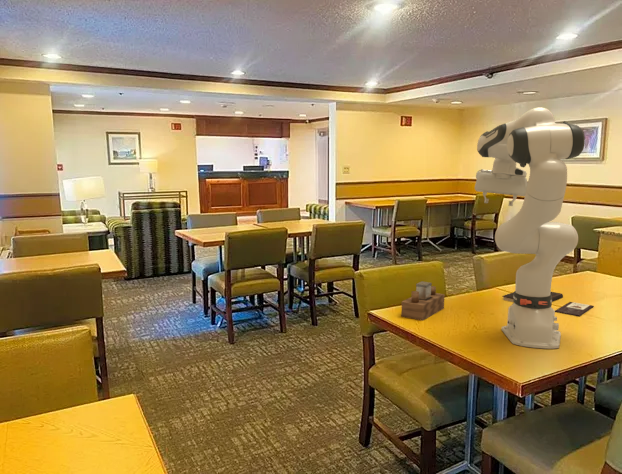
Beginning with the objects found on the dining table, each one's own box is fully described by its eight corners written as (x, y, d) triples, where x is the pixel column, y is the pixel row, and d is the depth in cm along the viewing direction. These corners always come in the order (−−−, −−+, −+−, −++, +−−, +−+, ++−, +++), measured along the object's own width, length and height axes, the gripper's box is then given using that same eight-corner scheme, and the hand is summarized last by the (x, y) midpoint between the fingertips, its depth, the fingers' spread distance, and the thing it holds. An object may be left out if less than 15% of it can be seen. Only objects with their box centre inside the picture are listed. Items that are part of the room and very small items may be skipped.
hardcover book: (502, 300, 207) (502, 295, 207) (527, 292, 221) (527, 287, 221) (538, 308, 195) (538, 303, 194) (562, 298, 209) (563, 293, 209)
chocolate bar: (554, 310, 188) (569, 301, 201) (554, 313, 188) (569, 303, 201) (579, 315, 182) (593, 305, 194) (579, 317, 182) (593, 308, 194)
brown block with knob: (422, 320, 180) (423, 295, 178) (401, 316, 185) (401, 291, 184) (444, 308, 195) (444, 284, 194) (423, 304, 201) (424, 281, 199)
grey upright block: (425, 307, 186) (425, 285, 185) (415, 305, 189) (416, 283, 188) (431, 304, 190) (431, 282, 189) (421, 302, 193) (421, 281, 192)
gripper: (476, 167, 195) (471, 200, 195) (530, 172, 187) (524, 206, 187) (477, 170, 201) (472, 202, 201) (529, 174, 193) (524, 208, 193)
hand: (498, 204), depth 194 cm, fingers open, 8 cm apart
